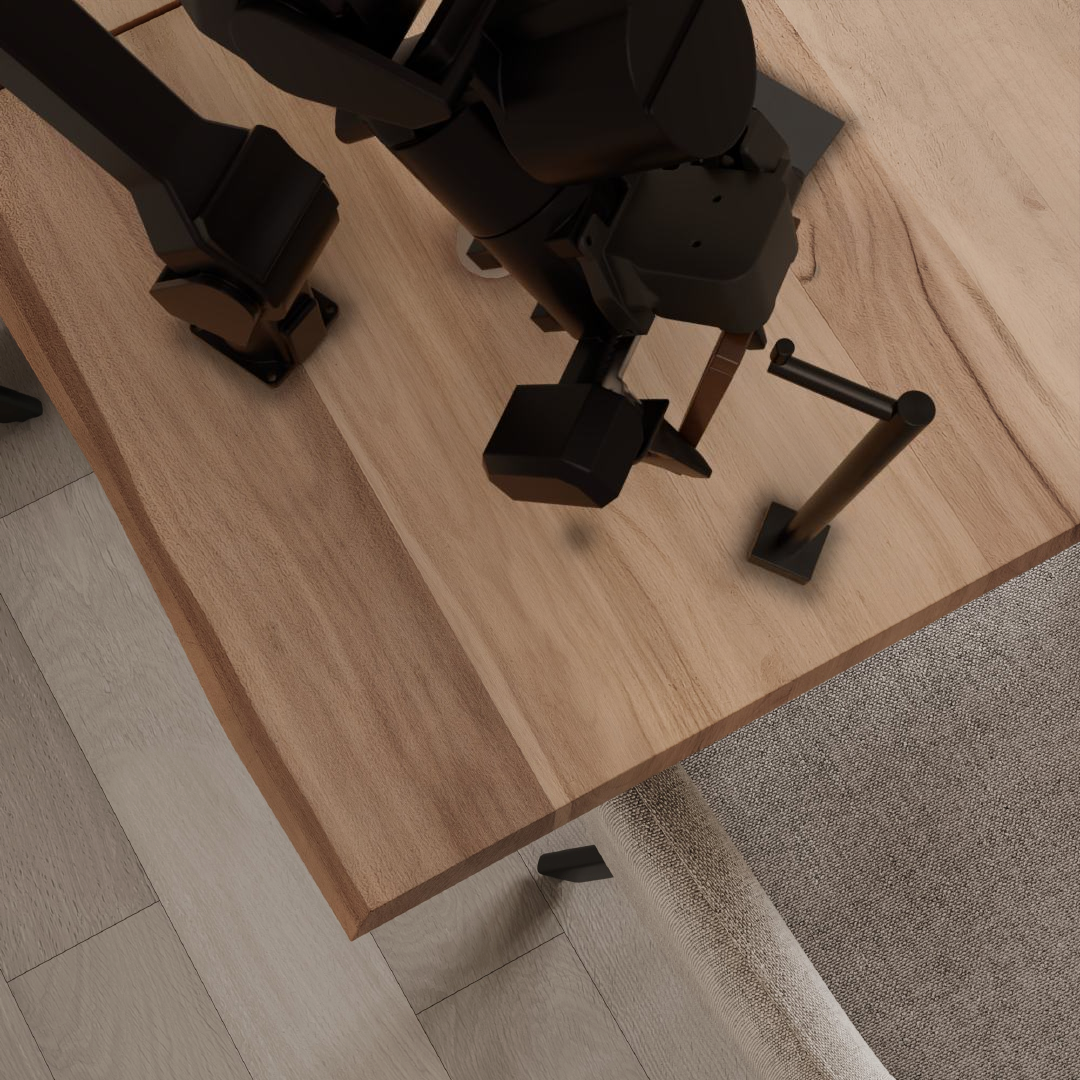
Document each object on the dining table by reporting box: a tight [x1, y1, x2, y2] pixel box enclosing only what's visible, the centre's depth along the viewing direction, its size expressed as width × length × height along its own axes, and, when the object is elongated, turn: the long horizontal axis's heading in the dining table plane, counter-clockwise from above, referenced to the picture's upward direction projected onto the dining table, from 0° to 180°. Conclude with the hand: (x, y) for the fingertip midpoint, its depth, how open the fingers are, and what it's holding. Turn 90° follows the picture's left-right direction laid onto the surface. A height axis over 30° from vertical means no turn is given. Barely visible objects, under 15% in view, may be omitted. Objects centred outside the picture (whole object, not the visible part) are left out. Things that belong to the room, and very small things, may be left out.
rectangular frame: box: [665, 215, 802, 477], centre depth 46 cm, size 1×7×13 cm, turn 156°
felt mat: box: [753, 69, 846, 179], centre depth 71 cm, size 7×7×1 cm
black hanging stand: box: [746, 337, 937, 586], centre depth 53 cm, size 8×4×20 cm, turn 66°
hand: (731, 410), depth 51 cm, fingers closed on rectangular frame, 7 cm apart
